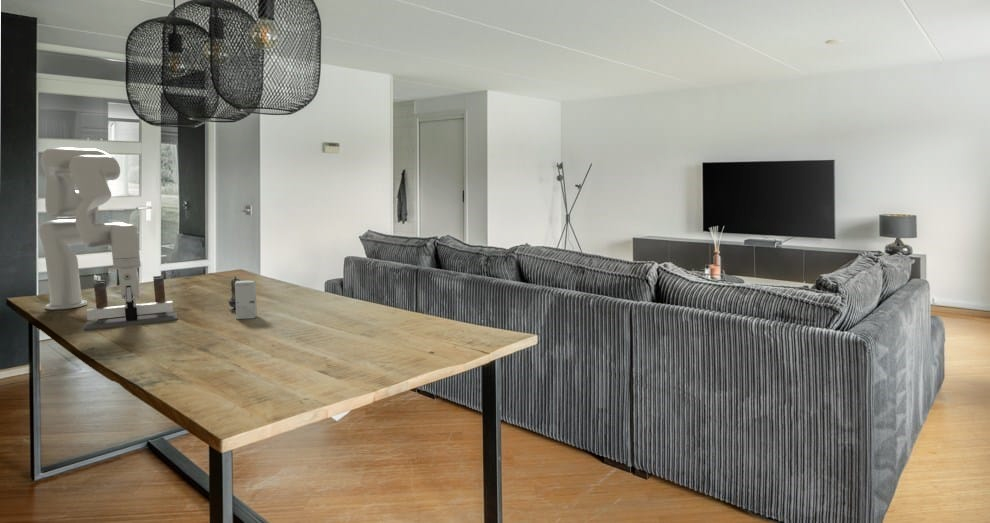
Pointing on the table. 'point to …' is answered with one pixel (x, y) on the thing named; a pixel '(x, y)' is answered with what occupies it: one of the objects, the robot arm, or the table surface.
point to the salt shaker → (233, 295)
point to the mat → (123, 321)
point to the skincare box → (245, 299)
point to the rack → (103, 302)
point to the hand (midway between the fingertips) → (131, 318)
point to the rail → (120, 310)
